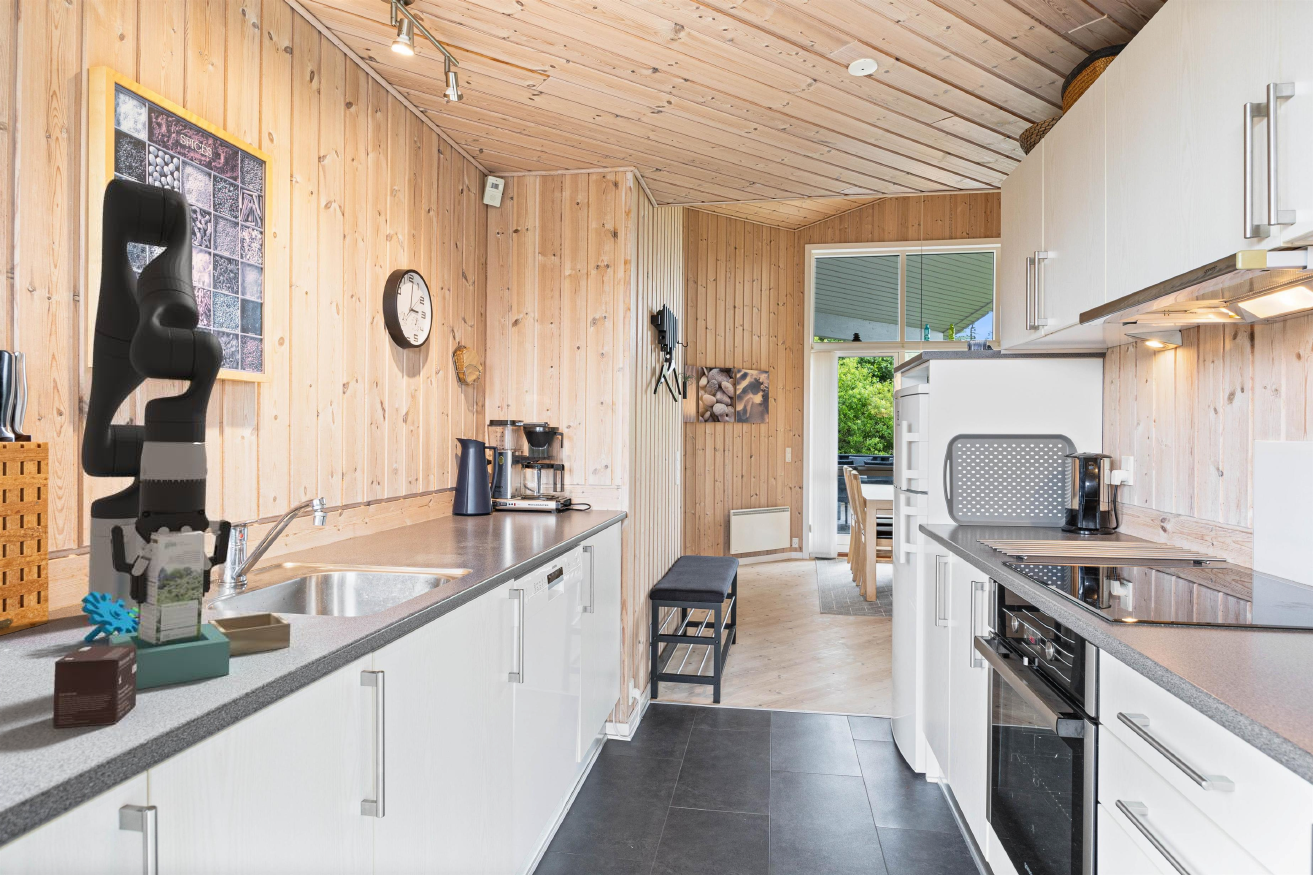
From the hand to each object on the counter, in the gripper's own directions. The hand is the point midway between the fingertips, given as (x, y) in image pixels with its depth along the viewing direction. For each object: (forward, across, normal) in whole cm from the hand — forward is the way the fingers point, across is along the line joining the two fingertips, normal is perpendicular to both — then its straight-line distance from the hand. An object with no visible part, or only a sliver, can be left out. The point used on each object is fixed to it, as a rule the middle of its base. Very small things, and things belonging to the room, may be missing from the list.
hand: (170, 599), depth 101 cm
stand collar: (+10, -12, -8) cm, 17 cm away
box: (+10, +9, +14) cm, 19 cm away
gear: (+10, +4, -23) cm, 25 cm away
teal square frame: (+10, 0, 0) cm, 10 cm away
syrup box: (+5, 0, 0) cm, 5 cm away
